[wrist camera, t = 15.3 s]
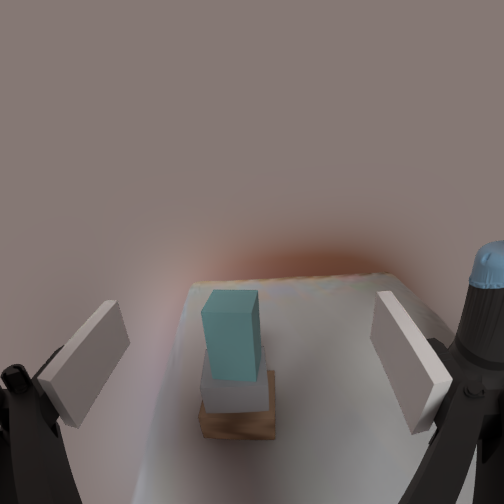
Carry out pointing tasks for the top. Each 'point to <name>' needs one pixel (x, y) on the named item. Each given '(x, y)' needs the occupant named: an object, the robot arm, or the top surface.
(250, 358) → the column block
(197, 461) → the top surface
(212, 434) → the tower base
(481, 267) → the robot arm
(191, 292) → the top surface
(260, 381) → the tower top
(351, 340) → the top surface
